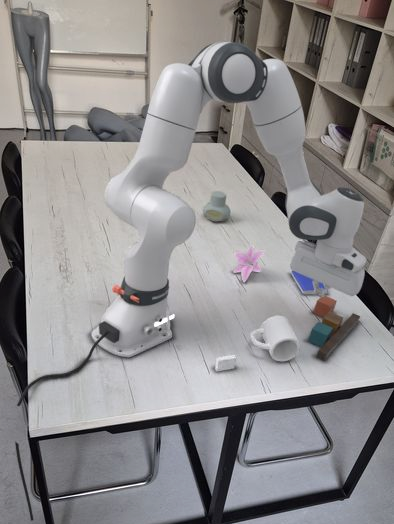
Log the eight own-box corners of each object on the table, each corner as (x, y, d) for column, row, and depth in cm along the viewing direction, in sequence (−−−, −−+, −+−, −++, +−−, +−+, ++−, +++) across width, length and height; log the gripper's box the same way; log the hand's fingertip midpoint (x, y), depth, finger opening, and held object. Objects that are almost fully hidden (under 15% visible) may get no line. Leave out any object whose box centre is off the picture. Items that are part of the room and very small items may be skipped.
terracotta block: (326, 319, 146) (330, 306, 143) (313, 312, 148) (316, 300, 145) (332, 312, 149) (336, 300, 146) (319, 306, 151) (323, 294, 148)
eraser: (234, 368, 124) (236, 357, 122) (216, 371, 123) (218, 360, 120) (232, 365, 125) (234, 354, 123) (214, 368, 124) (216, 357, 121)
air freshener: (199, 219, 191) (202, 194, 184) (205, 211, 197) (208, 187, 191) (226, 225, 189) (230, 200, 183) (231, 217, 195) (235, 193, 189)
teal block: (322, 348, 135) (327, 335, 132) (307, 341, 136) (311, 328, 133) (328, 340, 138) (333, 327, 135) (314, 334, 139) (318, 321, 137)
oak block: (333, 336, 139) (337, 324, 136) (319, 330, 141) (323, 317, 138) (339, 329, 142) (343, 317, 139) (325, 323, 144) (329, 311, 141)
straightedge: (324, 361, 130) (326, 354, 129) (316, 357, 131) (318, 350, 130) (358, 322, 146) (360, 316, 145) (350, 319, 147) (353, 312, 146)
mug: (285, 338, 137) (291, 314, 131) (296, 361, 129) (303, 337, 124) (244, 339, 134) (248, 315, 129) (253, 363, 127) (258, 339, 122)
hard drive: (328, 290, 156) (314, 270, 165) (304, 290, 154) (291, 270, 164) (326, 294, 157) (313, 274, 166) (302, 294, 155) (290, 274, 165)
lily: (231, 265, 167) (226, 247, 159) (265, 255, 166) (261, 236, 158) (238, 292, 161) (233, 275, 153) (273, 282, 160) (269, 264, 151)
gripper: (292, 240, 131) (281, 284, 140) (363, 269, 123) (347, 314, 131) (303, 233, 135) (291, 277, 144) (372, 261, 127) (356, 305, 135)
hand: (318, 295), depth 138 cm, fingers closed
